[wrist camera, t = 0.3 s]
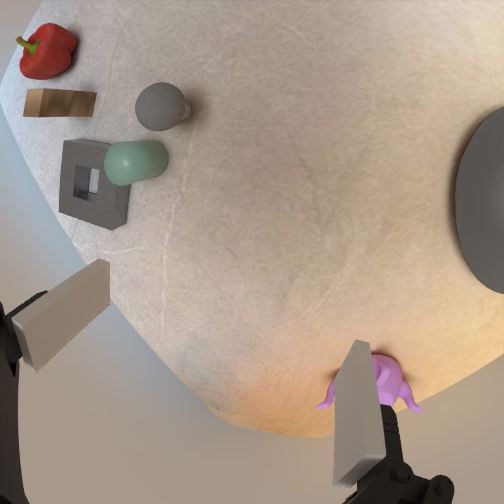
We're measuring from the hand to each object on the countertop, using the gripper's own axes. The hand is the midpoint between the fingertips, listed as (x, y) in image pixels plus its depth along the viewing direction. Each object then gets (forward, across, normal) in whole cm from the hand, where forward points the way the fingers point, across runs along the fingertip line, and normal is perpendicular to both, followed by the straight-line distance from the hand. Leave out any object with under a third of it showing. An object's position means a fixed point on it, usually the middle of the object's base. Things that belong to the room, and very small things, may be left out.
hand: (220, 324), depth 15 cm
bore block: (+28, -29, -3) cm, 40 cm away
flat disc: (+28, +34, +13) cm, 47 cm away
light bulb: (+28, -16, +10) cm, 34 cm away
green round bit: (+28, -20, +2) cm, 34 cm away
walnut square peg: (+28, -35, +9) cm, 45 cm away
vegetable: (+28, -44, +19) cm, 55 cm away
